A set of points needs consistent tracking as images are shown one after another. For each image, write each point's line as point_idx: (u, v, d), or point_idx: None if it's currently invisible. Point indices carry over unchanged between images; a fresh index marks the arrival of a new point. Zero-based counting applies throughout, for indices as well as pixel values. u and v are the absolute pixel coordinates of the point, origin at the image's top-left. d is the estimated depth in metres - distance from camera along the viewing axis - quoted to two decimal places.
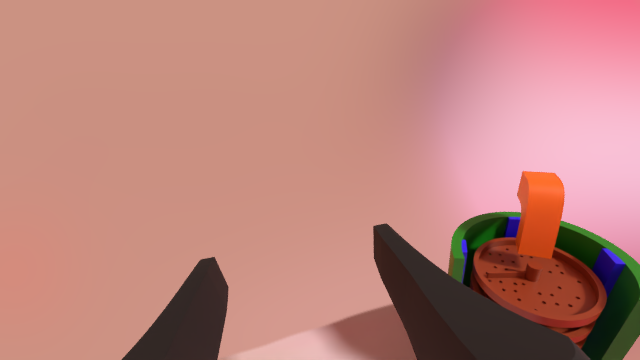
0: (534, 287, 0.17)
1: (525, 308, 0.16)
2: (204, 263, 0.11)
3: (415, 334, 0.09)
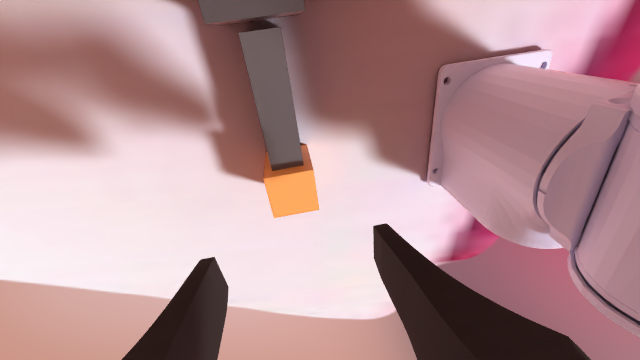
0: None
1: None
2: (204, 263, 0.11)
3: (415, 334, 0.09)
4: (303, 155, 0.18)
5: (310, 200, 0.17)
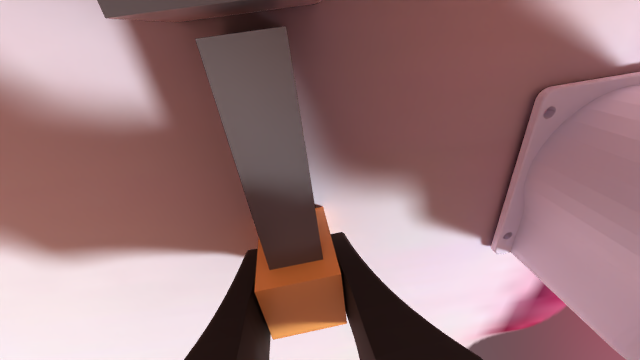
0: None
1: None
2: (254, 253, 0.11)
3: (359, 347, 0.09)
4: (320, 232, 0.11)
5: (333, 313, 0.10)
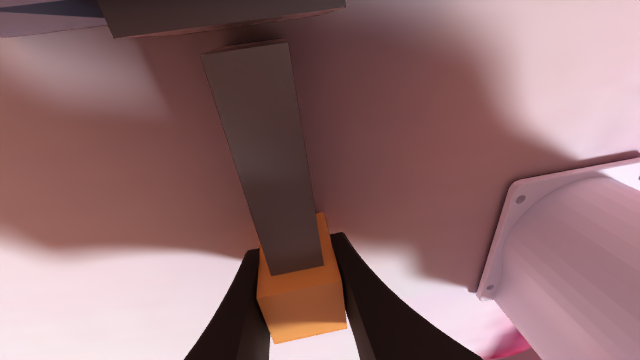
0: None
1: None
2: (253, 253, 0.11)
3: (359, 347, 0.09)
4: (321, 238, 0.11)
5: (334, 318, 0.10)
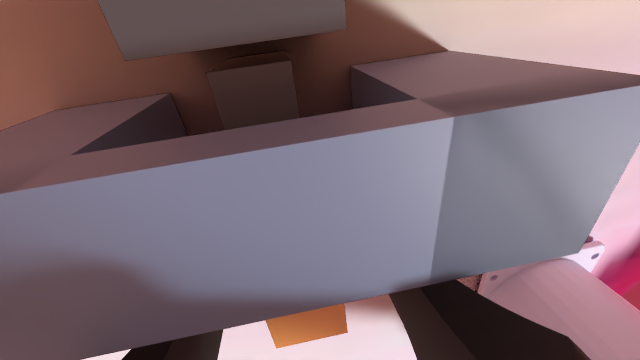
0: None
1: None
2: None
3: (415, 334, 0.09)
4: None
5: (334, 323, 0.11)
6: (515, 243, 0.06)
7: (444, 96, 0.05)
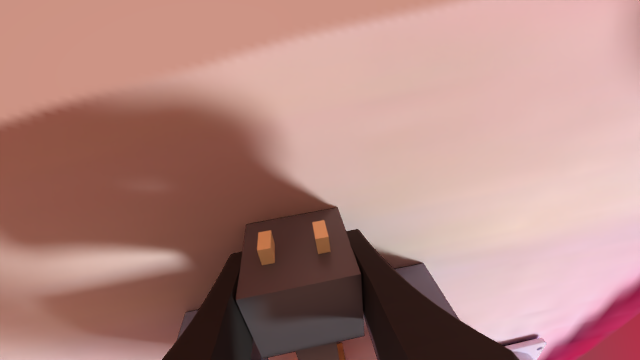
0: None
1: None
2: (236, 257, 0.11)
3: (378, 342, 0.09)
4: None
5: None
6: None
7: None
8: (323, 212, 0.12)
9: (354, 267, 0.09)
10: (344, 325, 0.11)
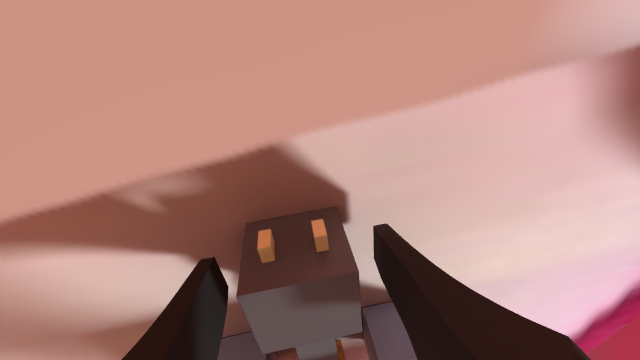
0: None
1: None
2: (204, 263, 0.11)
3: (415, 334, 0.09)
4: None
5: None
6: None
7: None
8: (322, 212, 0.13)
9: (352, 264, 0.10)
10: (343, 321, 0.11)
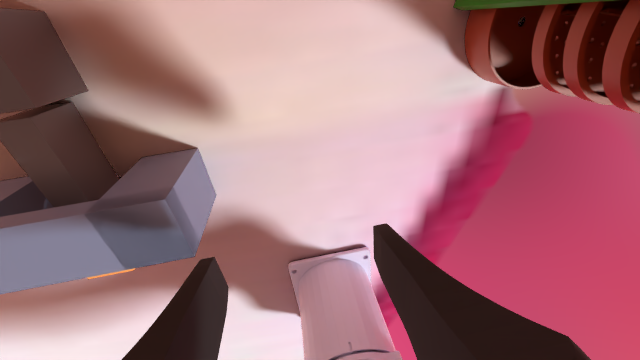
0: None
1: None
2: (204, 263, 0.11)
3: (415, 334, 0.09)
4: None
5: None
6: (154, 252, 0.14)
7: (106, 199, 0.13)
8: None
9: None
10: (0, 86, 0.12)
